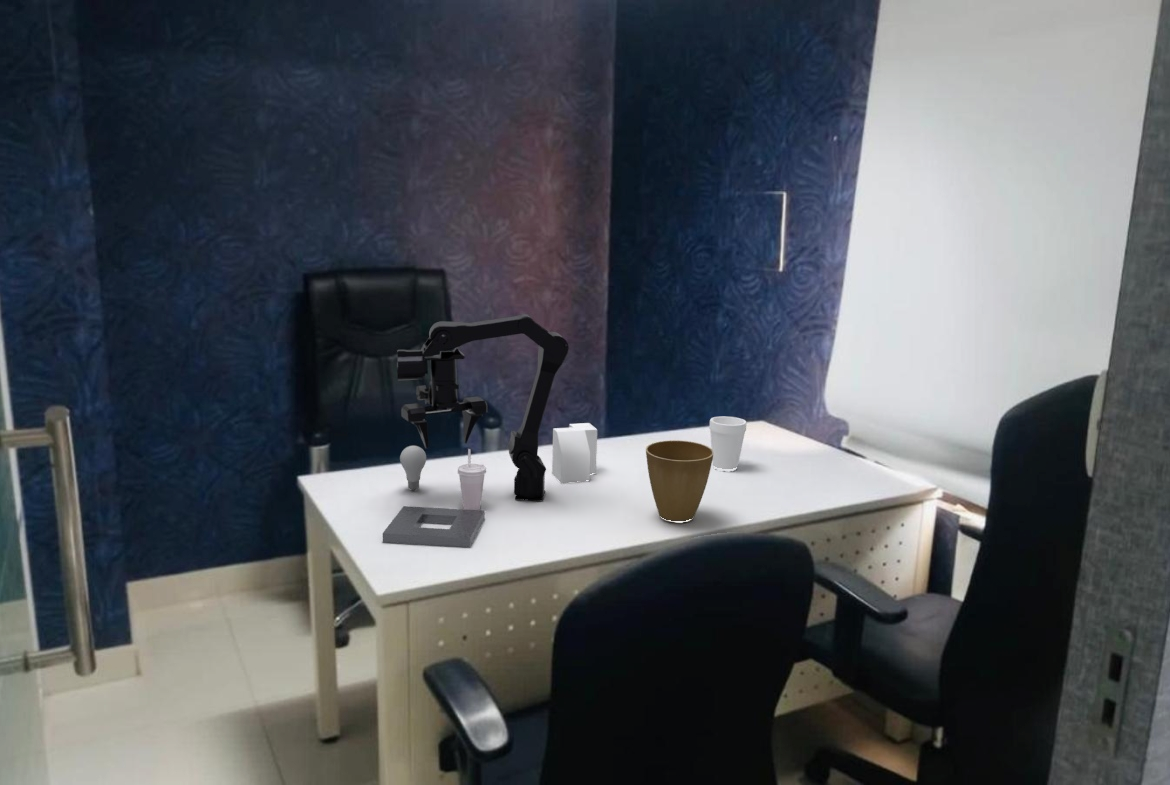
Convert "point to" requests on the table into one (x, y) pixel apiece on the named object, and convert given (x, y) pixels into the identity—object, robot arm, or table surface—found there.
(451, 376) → the robot arm
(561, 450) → the white block
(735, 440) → the foam cup
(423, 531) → the square plate with hole
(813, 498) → the table surface
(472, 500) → the smoothie
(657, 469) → the plant pot
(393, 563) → the table surface
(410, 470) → the lightbulb
